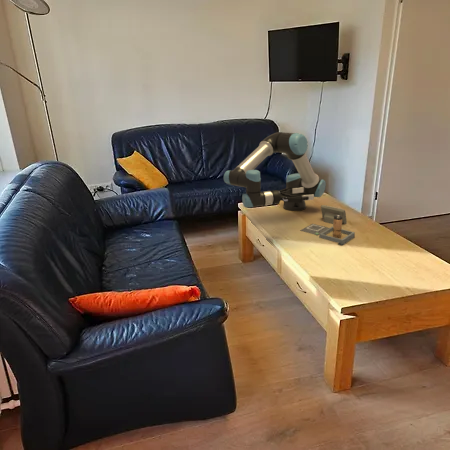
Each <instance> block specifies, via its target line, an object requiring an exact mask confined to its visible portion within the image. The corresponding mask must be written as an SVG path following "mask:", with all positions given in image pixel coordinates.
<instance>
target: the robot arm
mask: <svg viewBox="0 0 450 450" xmlns="http://www.w3.org/2000/svg"><path fill="white" fill-rule="evenodd" d="M307 151H308V138H307V137H306V135H304V134H302V133H298V132H283V131H282V132H281V131H277V132H274V133H272V134H270V135H269V136H268V135H267V137H265V138H264V139H262V140H261V141H260V142H259V145H258V147H256V148H255V149H254V150H253V151H252V152H251V153H250V154H248V156H247V157H245V158H244V160H242V161H241V162H239V165H237V166H236V167H235V168H234V169H233V170H232V169H231V170H226V171H225V172H224V174H223V181H224V183H226V185H231V186H236V187H241V188H245V189H246V191H245V192H246V193H243V194H242V195H241V196H242V197H241V200H242V201H241V202H242V205H243V207H245V208H256V207H264V206H265V207H267V206H270V205H271V206H272V205H279V204H280V202H281V201H283V207H282V208H283V209H284V210H287V211H292V212H293V211H294V212H296V211H297V212H298V211H303V210H305V209H306V208H307V204H306V201H314V200H315V199H314V198H321V197H322V196H323V195H324V193H325V190H326V185H327V183H326V180H325V179H321V178H320V176H319V175H318V174H317V173H315V171H314V169H313V167H312V165H311V162H310V161H309V158H308V156H307V154H306V152H307ZM274 153H280V154H285V155H286V156H287V158H288V159H289V160H291V161H292V163H293V165H294V167H295V169H296V171H297V173H292V174H289V175H287V176H286V181H285V183H286V184H285V185H286V187H285V188H283V189H279V190H278V189H276V190H274V189H273V190H267V191H266V190H265V191H261V190H262V189H261V188H262V186H261V185H262V184H261V180H262V178H261V171H259V170H258V169H256V168H257V167H258V166H259V165H260V164H261V163H262V162H264V160H265V159H266V158H267V157H268V156H272V155H274Z"/></svg>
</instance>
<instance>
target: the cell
mask: <svg viewBox="0 0 450 450" xmlns="http://www.w3.org/2000/svg"><path fill="white" fill-rule="evenodd" d="M332 227H333V231H332V237H335V238H339V239H341V237H342V233H341V230H342V229H343V223H342V216H340V215H336V216H334V223H333V224H332Z"/></svg>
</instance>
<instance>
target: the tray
mask: <svg viewBox="0 0 450 450" xmlns="http://www.w3.org/2000/svg"><path fill="white" fill-rule="evenodd" d="M328 228H329V229H327V230H326V231H324V232H322V233H321V234H319V235H318V236H319V237H318V238H319V239H324V240H327V241H331V242H333V243H337V245H338V246H343V245H346V244H347V243H348V242H350V241H351V240H353V239H354V238H355V235H356V232H354V231H351V230H347V229H343V228H342V230H341V234H343V235H346V236H345V237H343V238H342V239H341V238H335V237H333V236H331V235H328V234H330V233H333V226H331V227H328Z"/></svg>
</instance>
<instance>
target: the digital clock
mask: <svg viewBox="0 0 450 450" xmlns="http://www.w3.org/2000/svg"><path fill="white" fill-rule="evenodd" d="M320 210H321V217H322V219H323V223H327V224H331V225H333V223H334V216H336V215H340V216H342V224H344V225H346V224H347V223H348V222H347V212H346V210H345V209H344V208H341V207H336V206H330V205H325V204H322V205H320Z"/></svg>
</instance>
